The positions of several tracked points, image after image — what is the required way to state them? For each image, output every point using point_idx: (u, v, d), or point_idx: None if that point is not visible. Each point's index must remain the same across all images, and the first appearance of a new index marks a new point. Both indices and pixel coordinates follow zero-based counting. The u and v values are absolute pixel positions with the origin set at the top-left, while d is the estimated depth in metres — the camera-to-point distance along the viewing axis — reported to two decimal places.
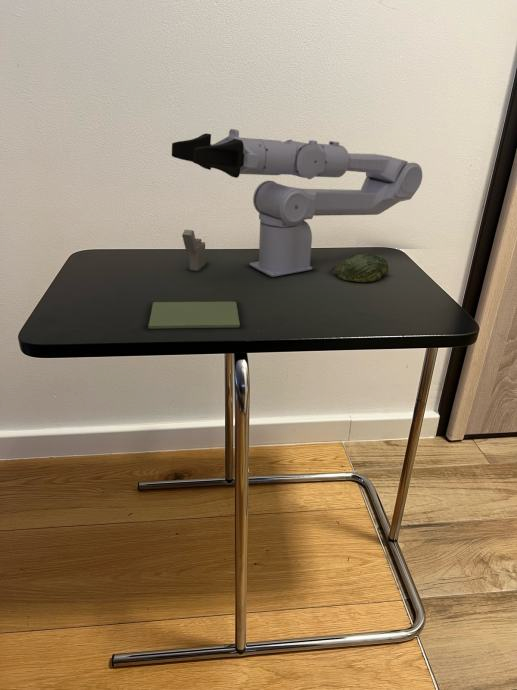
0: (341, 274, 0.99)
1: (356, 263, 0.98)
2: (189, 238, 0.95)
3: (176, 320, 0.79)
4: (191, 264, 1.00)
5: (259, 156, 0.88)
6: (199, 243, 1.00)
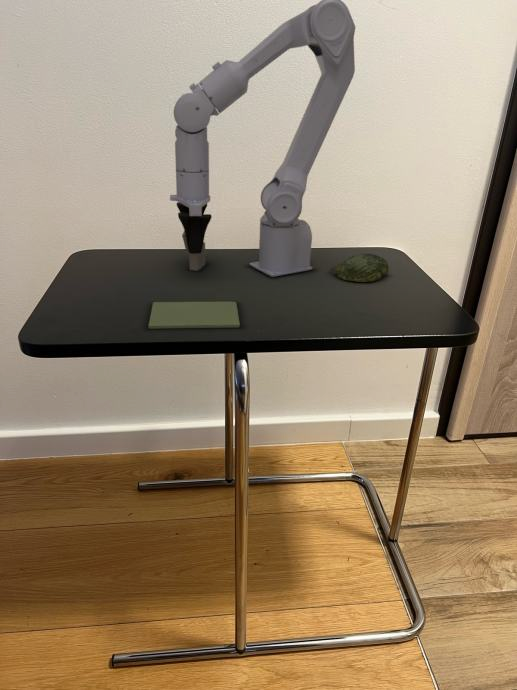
0: (341, 274, 0.99)
1: (356, 263, 0.98)
2: None
3: (176, 320, 0.79)
4: (191, 264, 1.00)
5: (191, 180, 0.91)
6: None
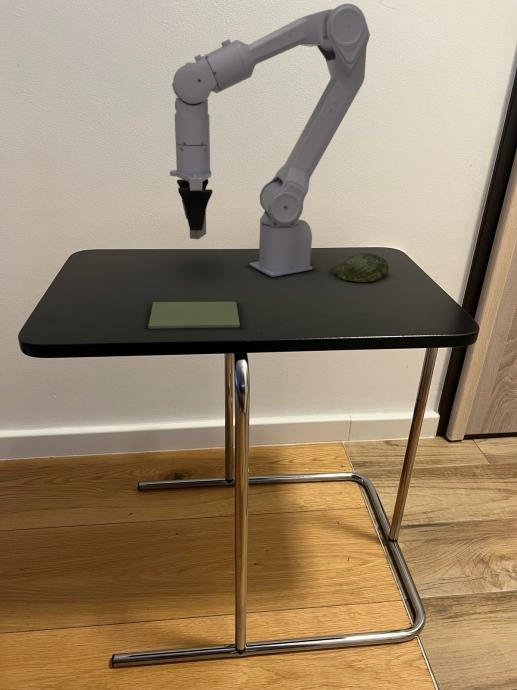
0: (341, 274, 0.99)
1: (356, 263, 0.98)
2: None
3: (176, 320, 0.79)
4: (191, 232, 0.97)
5: (191, 154, 0.89)
6: None
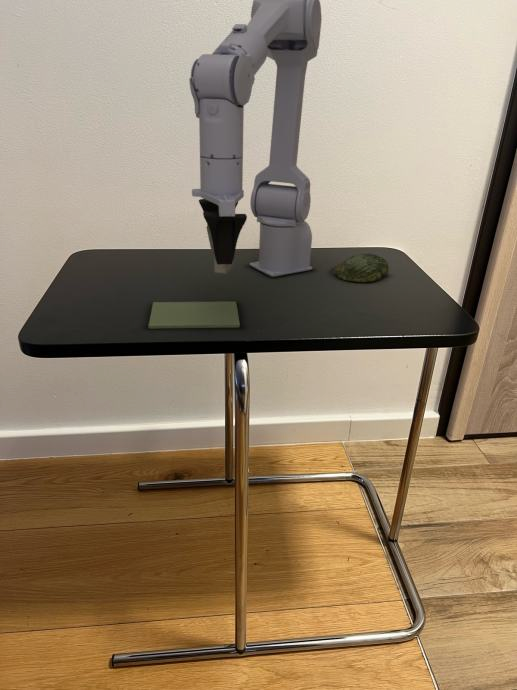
0: (341, 274, 0.99)
1: (356, 263, 0.98)
2: None
3: (176, 320, 0.79)
4: (216, 265, 0.78)
5: (221, 169, 0.70)
6: None
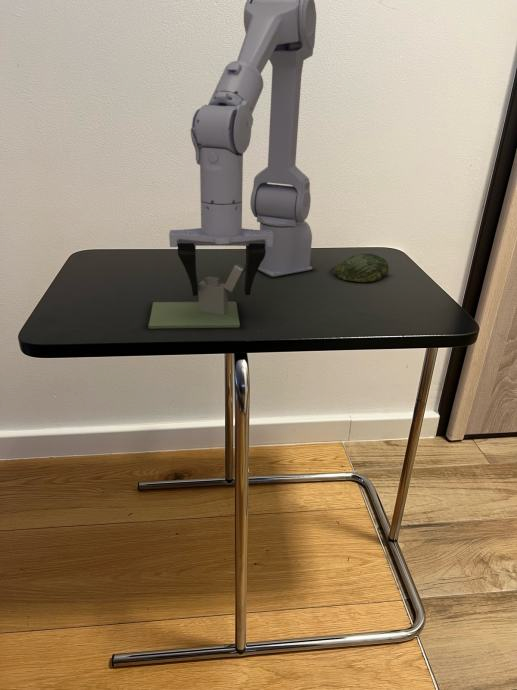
0: (341, 274, 0.99)
1: (356, 263, 0.98)
2: (243, 271, 0.78)
3: (176, 320, 0.79)
4: (224, 307, 0.81)
5: (241, 210, 0.75)
6: None
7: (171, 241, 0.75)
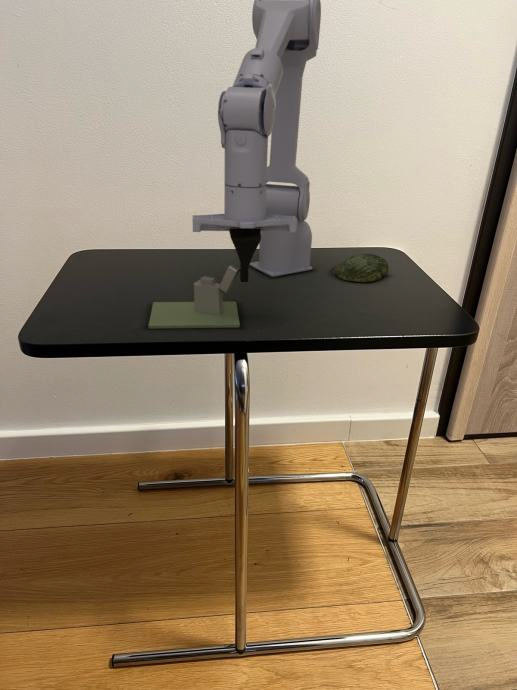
0: (341, 274, 0.99)
1: (356, 263, 0.98)
2: (238, 272, 0.78)
3: (176, 320, 0.79)
4: (220, 307, 0.81)
5: (266, 194, 0.74)
6: None
7: (194, 226, 0.74)
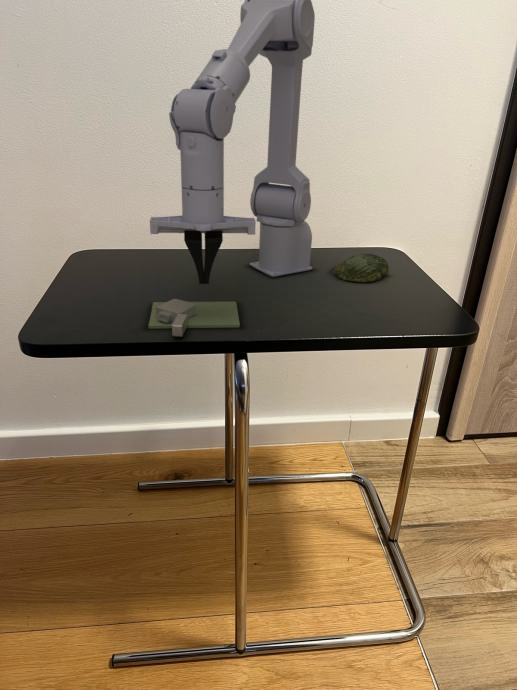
0: (341, 274, 0.99)
1: (356, 263, 0.98)
2: (182, 326, 0.74)
3: None
4: (191, 314, 0.80)
5: (223, 196, 0.74)
6: (166, 313, 0.77)
7: (152, 228, 0.74)
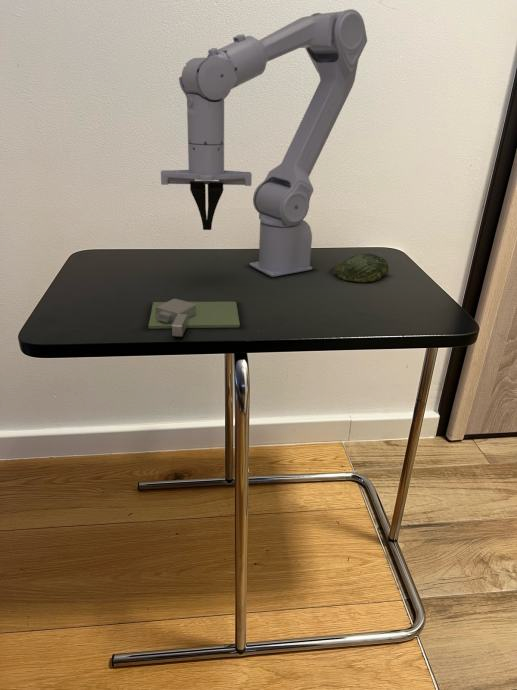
0: (341, 274, 0.99)
1: (356, 263, 0.98)
2: (182, 326, 0.74)
3: None
4: (191, 314, 0.80)
5: None
6: (166, 313, 0.77)
7: (162, 179, 0.86)
